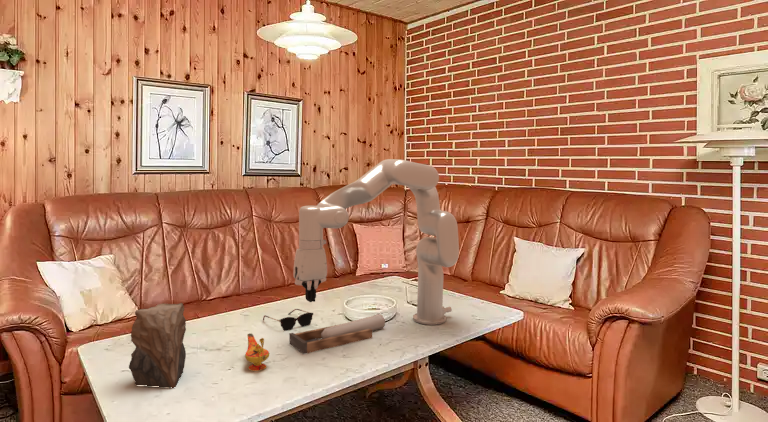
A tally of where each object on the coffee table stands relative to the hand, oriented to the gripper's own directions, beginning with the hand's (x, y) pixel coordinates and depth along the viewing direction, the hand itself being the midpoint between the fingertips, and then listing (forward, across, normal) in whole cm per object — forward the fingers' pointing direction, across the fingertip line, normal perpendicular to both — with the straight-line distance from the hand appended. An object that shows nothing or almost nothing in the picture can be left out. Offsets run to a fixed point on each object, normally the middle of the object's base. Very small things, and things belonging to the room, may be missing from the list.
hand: (310, 300), depth 163 cm
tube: (+15, -17, -1) cm, 23 cm away
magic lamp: (+15, +20, +5) cm, 26 cm away
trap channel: (+15, -8, 0) cm, 17 cm away
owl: (+15, +45, +1) cm, 48 cm away
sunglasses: (+16, -3, -25) cm, 30 cm away
